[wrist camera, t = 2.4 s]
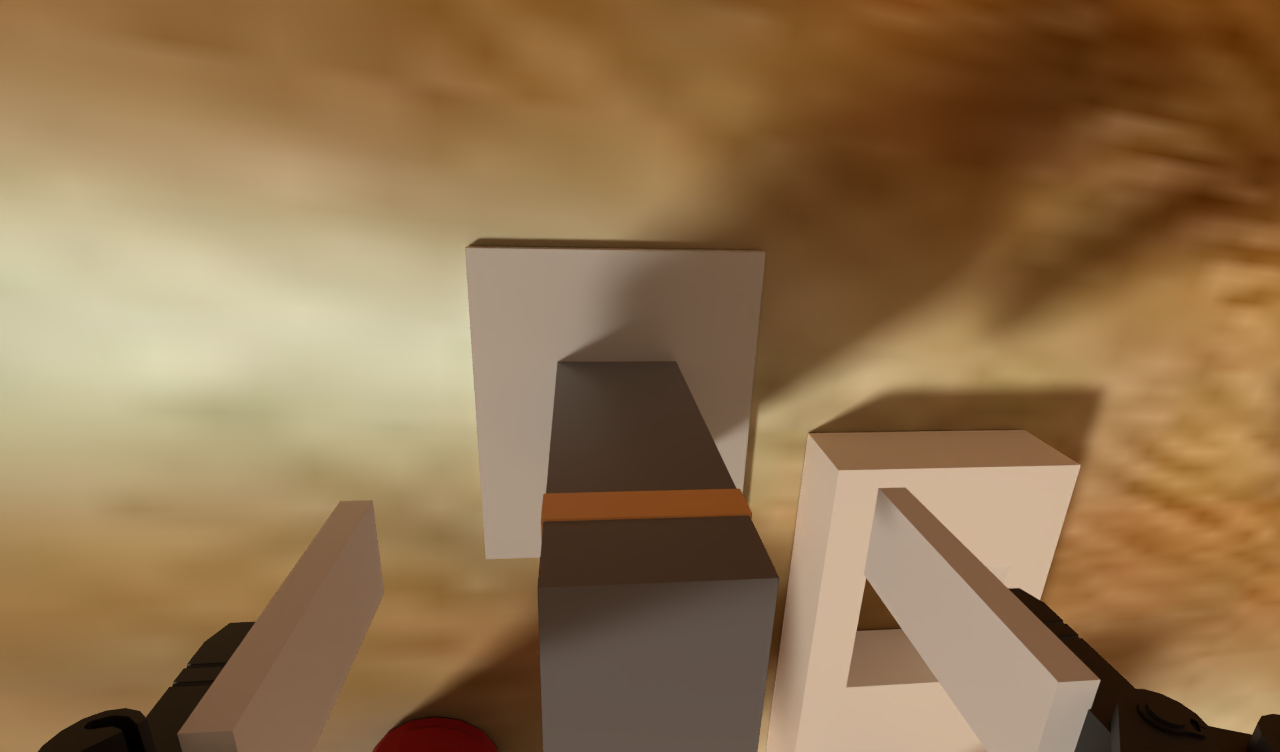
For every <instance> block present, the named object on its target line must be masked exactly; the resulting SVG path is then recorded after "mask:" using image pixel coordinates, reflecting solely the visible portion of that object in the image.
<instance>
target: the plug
mask: <svg viewBox="0 0 1280 752" xmlns="http://www.w3.org/2000/svg"><path fill="white" fill-rule="evenodd" d="M751 518H752V512H751V510H750V508H749V506H748V504H747V502H746V500H745V498H744V496H743V494H742V492H741V490H740V489H737V488H736V486H735V484H734V482H733V480H732V478H731V476H730V474H729V472H728V469H727V467H726V465H725V463H724V461H723V459H722V457H721V455H720V453H719V451H718V448H717V446H716V444H715V442H714V440H713V438H712V436H711V434H710V432H709V429H708V427H707V425H706V423H705V421H704V419H703V417H702V415H701V413H700V411H699V408H698V406H697V404H696V402H695V400H694V398H693V396H692V394H691V392H690V390H689V387H688V385H687V383H686V381H685V379H684V377H683V375H682V373H681V371H680V369H679V366H678V364H677V362H676V361H627V362H557V372H556V383H555V395H554V406H553V418H552V429H551V441H550V452H549V464H548V475H547V486H546V493H544V494H543V502H542V512H541V542H542V544H541V555H540V567H539V578H538V614H539V644H540V674H541V704H542V734H543V752H757V750H758V742H759V735H760V727H761V719H762V711H763V703H764V695H765V687H766V679H767V671H768V663H769V655H770V647H771V639H772V631H773V623H774V615H775V607H776V600H777V592H778V584H779V577H778V575H777V572H776V570H775V568H774V566H773V564H772V562H771V560H770V558H769V556H768V554H767V551H766V549H765V547H764V545H763V543H762V541H761V539H760V537H759V535H758V533H757V530H756V528H755V526H754V524H753V522H752V520H751Z"/></svg>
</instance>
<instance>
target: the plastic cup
mask: <svg viewBox="0 0 1280 752" xmlns="http://www.w3.org/2000/svg"><path fill="white" fill-rule="evenodd" d="M373 752H497V748H496V746H495V745H494V743H493V742H492V741H491V740H490V739H489V738H488V737H487V736H486V734H485V733H484V732H483V731H482V730H479V729H477V728H475V727H473V726H471V725H469V724H467V723H465V722H463V721H460V720H453V719H446V718H439V717H433V718H426V719H419V720H413V721H409V722H407V723H405V724H403V725H401V726H399V727H397V728H395V729H393V730H391V731H389V732H388V733H387V734H386V735H385V736H384V738H383V739H382V740H381V741H380V742H379V743H378V744H377V745H376V747H375V748H374V750H373Z"/></svg>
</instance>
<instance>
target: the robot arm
mask: <svg viewBox="0 0 1280 752" xmlns="http://www.w3.org/2000/svg"><path fill="white" fill-rule="evenodd" d="M864 575H865V577H866V578H867V580H868V581H869V583H870V584H871V585H872V587H873V588H874V590H875V591H876V593H877V594H878V595H879V597H880V598H881V600H882V601H883V603H884V604H885V606H886V607H887V608H888V610H889V611H890V613H891V614H892V616H893V617H894V618H895V620H896V621H897V623H898V624H899V626H900V627H901V628H902V630H903V631H904V633H905V634H906V636H907V637H908V639H909V640H910V641H911V643H912V644H913V646H914V647H915V649H916V650H917V651H918V653H919V654H920V656H921V657H922V659H923V660H924V661H925V663H926V664H927V666H928V667H929V669H930V670H931V672H932V673H933V674H934V676H935V677H936V679H937V680H938V682H939V683H940V684H941V686H942V687H943V689H944V690H945V692H946V693H947V694H948V696H949V697H950V699H951V700H952V702H953V703H954V704H955V706H956V707H957V709H958V710H959V712H960V713H961V715H962V716H963V717H964V719H965V720H966V722H967V723H968V725H969V726H970V727H971V729H972V730H973V732H974V733H975V735H976V736H977V737H978V739H979V740H980V742H981V743H982V745H983V746H984V748H985V749H986V750H987V752H1280V715H1277V714H1270V715H1265V716H1261V718H1260V720H1259V722H1258V723H1257V726H1256V728H1255V730H1254V732H1253V735H1251V734H1246V733H1241V732H1236V731H1230V730H1225V729H1220V728H1215V727H1210V726H1208V725H1207V724H1206V723H1205V722H1204V721H1203V720H1202V719H1201V718H1200V717H1199V716H1198V715H1197V714H1196V713H1194V712H1193V711H1191V710H1190V709H1188V708H1187V707H1185V706H1184V705H1182V704H1181V703H1179V702H1177V701H1175V700H1173V699H1171V698H1169V697H1167V696H1165V695H1163V694H1160V693H1156V692H1152V691H1149V690H1145V689H1135V688H1134V687H1133V686H1132V685H1131V684H1130V683H1129V682H1128V681H1127V680H1126V679H1125V678H1124V677H1123V676H1121V675H1120V674H1119V673H1118V672H1117V671H1116V670H1115V669H1114V668H1113V667H1112V666H1111V665H1110V664H1109V663H1108V662H1107V661H1106V660H1104V659H1103V658H1102V657H1101V656H1100V655H1099V654H1098V653H1097V652H1096V651H1095V650H1094V649H1093V648H1092V647H1091V646H1090V645H1089V644H1087V643H1086V642H1085V641H1084V640H1083V639H1082V638H1080V639H1079V637H1078V634H1077V633H1076V632H1075V631H1074V630H1073V629H1072V628H1070V627H1069V626H1068V625H1067V624H1064V623H1063V620H1062V619H1061V618H1060V617H1059V616H1058V615H1057V614H1056V613H1055V612H1053V611H1052V610H1051V609H1050V608H1049V607H1048V606H1047V605H1046V604H1045V603H1044V602H1042V601H1040V600H1039V599H1037V598H1035V597H1034V596H1032V595H1030V594H1029V593H1027V592H1025V591H1024V590H1022V589H1020V588H1009V589H1008V588H1007V587H1006V586H1005V585H1004V584H1003V583H1002V582H1001V581H1000V580H999V579H998V578H997V577H996V576H995V575H994V574H993V573H992V572H991V571H990V570H989V569H988V568H987V567H986V566H985V565H984V564H983V563H982V562H981V561H980V560H979V559H978V558H977V557H976V556H975V555H974V554H973V553H972V552H971V551H970V550H969V549H967V548H966V547H965V546H964V545H963V544H962V543H961V542H960V541H959V540H958V539H957V538H956V537H955V536H954V535H953V534H952V533H951V532H950V531H949V530H948V529H947V528H946V527H945V526H944V525H943V524H942V523H941V522H940V521H939V520H938V519H937V518H936V517H935V516H934V515H933V514H932V513H931V512H930V511H929V510H928V509H927V508H926V507H925V506H924V505H923V504H922V503H921V502H920V501H919V500H918V499H917V498H916V497H915V496H914V495H913V494H912V493H911V492H910V491H909V490H908V489H907V488H906V487H902V488H878V494H877V500H876V506H875V512H874V517H873V523H872V529H871V535H870V541H869V547H868V553H867V559H866V565H865V571H864ZM383 595H384V587H383V579H382V571H381V564H380V556H379V548H378V540H377V532H376V524H375V516H374V508H373V501H372V500H369V501H340V502H339V504H338V505H337V507H336V508H335V509H334V511H333V512H332V514H331V515H330V517H329V518H328V519H327V521H326V522H325V524H324V525H323V527H322V528H321V529H320V531H319V532H318V534H317V535H316V537H315V538H314V539H313V541H312V542H311V544H310V545H309V547H308V548H307V549H306V551H305V552H304V554H303V555H302V557H301V558H300V559H299V561H298V562H297V564H296V565H295V567H294V568H293V569H292V571H291V572H290V574H289V575H288V577H287V578H286V579H285V581H284V582H283V584H282V585H281V587H280V588H279V589H278V591H277V592H276V594H275V595H274V597H273V598H272V599H271V601H270V602H269V604H268V605H267V606H266V608H265V609H264V611H263V612H262V614H261V615H260V616H259V618H258V619H257V621H256V622H240V623H229V624H228V625H227V626H225V627H224V628H223V629H221V630H220V631H219V632H217V633H216V634H215V635H213V636H212V637H211V638H209V639H208V640H207V641H205V642H204V643H203V645H202V646H201V647H200V648H199V650H198V651H197V652H196V654H195V655H194V656H193V657H192V659H191V660H190V661H189V663H188V664H187V668H185V669H183V670H182V672H181V673H180V674H179V675H178V677H177V678H176V679H175V681H174V682H173V686H172V687H169V688H168V690H167V691H166V692H165V693H164V695H163V696H162V697H161V699H160V700H159V701H158V702H157V704H156V705H155V706H154V708H153V709H152V710H151V711H150V713H149V714H148V715H147V717H145V716H144V715H143V714H142V713H141V712H140V711H137V710H132V709H127V708H123V709H116V710H108V711H104V712H101V713H98V714H95V715H93V716H90V717H87V718H84V719H82V720H80V721H78V722H77V723H75V724H73V725H71V726H69V727H68V728H66V729H64V730H62V731H61V732H59V733H58V734H57V735H56V736H54V737H53V738H52V739H51V740H49V741H48V742H47V743H46V744H44V745H43V746H42V747H41V748H40V750H39V751H38V752H313V751H314V748H315V746H316V744H317V742H318V739H319V737H320V735H321V733H322V731H323V728H324V726H325V724H326V722H327V719H328V717H329V715H330V713H331V710H332V708H333V706H334V704H335V702H336V699H337V697H338V695H339V693H340V690H341V688H342V686H343V684H344V682H345V679H346V677H347V675H348V673H349V670H350V668H351V666H352V664H353V661H354V659H355V657H356V655H357V653H358V650H359V648H360V646H361V644H362V641H363V639H364V637H365V635H366V633H367V630H368V628H369V626H370V624H371V621H372V619H373V617H374V615H375V612H376V610H377V608H378V606H379V604H380V601H381V599H382V597H383Z"/></svg>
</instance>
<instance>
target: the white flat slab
mask: <svg viewBox="0 0 1280 752" xmlns="http://www.w3.org/2000/svg"><path fill="white" fill-rule="evenodd" d="M465 253H466V268H467V284H468V299H469V314H470V329H471V344H472V359H473V374H474V389H475V404H476V419H477V434H478V450H479V465H480V480H481V495H482V510H483V525H484V540H485V555H486V559H506V558H535V557H540V555H541V544H542V542H541V512H542V502H543V494H544V493H546V486H547V475H548V464H549V452H550V441H551V429H552V418H553V406H554V395H555V383H556V372H557V362H627V361H676V362H677V364H678V366H679V369H680V371H681V373H682V375H683V377H684V379H685V381H686V383H687V385H688V387H689V390H690V392H691V394H692V396H693V398H694V400H695V402H696V404H697V406H698V408H699V411H700V413H701V415H702V417H703V419H704V421H705V423H706V425H707V427H708V429H709V432H710V434H711V436H712V438H713V440H714V442H715V444H716V446H717V448H718V451H719V453H720V455H721V457H722V459H723V461H724V463H725V465H726V467H727V469H728V472H729V474H730V476H731V478H732V480H733V482H734V484H735V486H736V488H737V489H740V490H741V492H742V494H743V484H744V474H745V464H746V453H747V443H748V433H749V422H750V412H751V402H752V391H753V381H754V370H755V360H756V350H757V339H758V329H759V319H760V308H761V298H762V288H763V277H764V267H765V257H766V252H764V251H762V250H694V249H626V248H557V247H489V246H467V247H466V248H465Z"/></svg>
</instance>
